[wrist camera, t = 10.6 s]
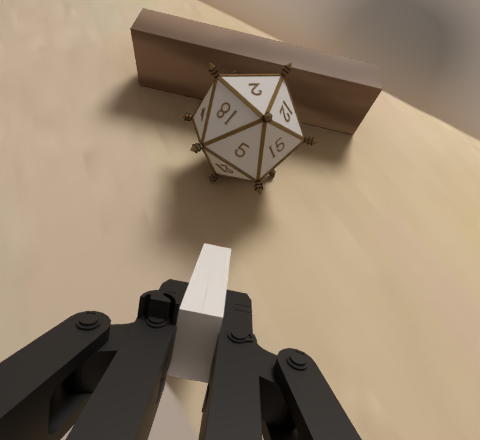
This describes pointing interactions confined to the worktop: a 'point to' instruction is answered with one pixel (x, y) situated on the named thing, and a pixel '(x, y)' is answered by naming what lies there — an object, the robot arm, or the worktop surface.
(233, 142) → the game die
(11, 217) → the worktop surface
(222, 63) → the rail
